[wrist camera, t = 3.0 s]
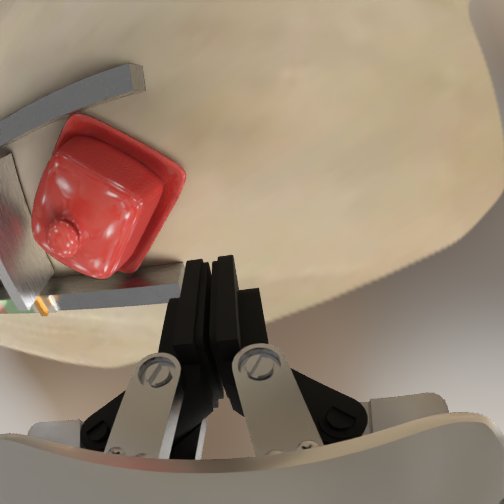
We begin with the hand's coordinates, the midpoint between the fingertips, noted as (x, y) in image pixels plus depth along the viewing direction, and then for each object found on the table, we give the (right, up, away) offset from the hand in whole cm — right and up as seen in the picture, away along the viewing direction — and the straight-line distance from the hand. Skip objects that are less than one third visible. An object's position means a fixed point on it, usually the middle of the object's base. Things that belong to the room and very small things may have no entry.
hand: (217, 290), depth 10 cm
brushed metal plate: (-20, +4, +11) cm, 23 cm away
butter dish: (-11, +6, +11) cm, 17 cm away
